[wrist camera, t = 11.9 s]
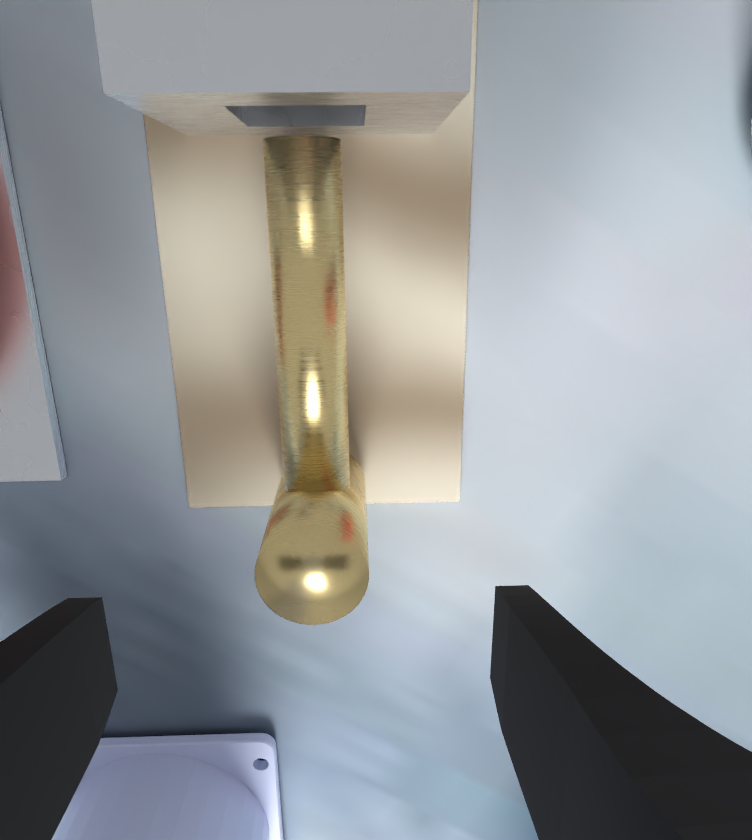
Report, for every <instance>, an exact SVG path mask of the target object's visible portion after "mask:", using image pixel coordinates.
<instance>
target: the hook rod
mask: <svg viewBox="0 0 752 840" xmlns="http://www.w3.org/2000/svg"><path fill="white" fill-rule="evenodd" d="M263 154H264V170H265V186H266V202H267V218H268V234H269V251H270V267H271V283H272V299H273V315H274V331H275V348H276V364H277V380H278V396H279V412H280V428H281V445H282V461H283V473H282V476H281V479H280V483H279V486H278V490H277V493H276V496H275V500H274V503H273V507H272V510H271V514H270V517H269V521H268V524H267V527H266V531H265V534H264V538H263V541H262V545H261V548H260V552H259V555H258V558H257V562H256V566H255V583H256V587H257V590H258V592H259V595H260V597H261V598H262V600H263V601H264V603H265V604H266V605H267V606H268V607H269V608H270V609H271V610H272V611H273V612H275V613H276V614H278V615H279V616H281V617H283V618H285V619H287V620H290V621H292V622H296V623H300V624H307V625H316V624H324V623H329V622H332V621H335V620H338V619H340V618H342V617H344V616H345V615H347V614H348V613H350V612H351V611H352V610H353V609H354V608H355V607H356V606H357V605H358V604H359V603H360V601H361V600H362V598H363V596H364V594H365V592H366V589H367V586H368V580H369V567H368V540H367V513H366V485H365V477H364V473H363V470H362V468H361V466H360V465H359V463H358V462H357V460H356V459H355V458H354V457H353V456H351V455H350V454H349V430H348V390H347V351H346V311H345V271H344V231H343V192H342V152H341V139H339V138H336V137H329V136H318V135H284V136H273V137H267V138H264V139H263Z"/></svg>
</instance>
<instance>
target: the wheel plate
mask: <svg viewBox="0 0 752 840" xmlns="http://www.w3.org/2000/svg"><path fill="white" fill-rule="evenodd" d="M66 476H67V469H66V464H65V458H64V453H63V447H62V442H61V436H60V431H59V425H58V420H57V414H56V409H55V403H54V398H53V392H52V387H51V381H50V376H49V370H48V364H47V359H46V353H45V348H44V342H43V337H42V331H41V326H40V320H39V315H38V309H37V304H36V298H35V293H34V287H33V282H32V276H31V271H30V265H29V260H28V254H27V249H26V243H25V238H24V232H23V227H22V221H21V216H20V210H19V205H18V199H17V194H16V188H15V183H14V177H13V172H12V166H11V161H10V155H9V150H8V144H7V138H6V133H5V127H4V122H3V116H2V111H1V105H0V482H14V481H61V480H62V479H64V478H65V477H66Z"/></svg>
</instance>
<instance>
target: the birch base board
mask: <svg viewBox="0 0 752 840" xmlns="http://www.w3.org/2000/svg"><path fill="white" fill-rule="evenodd" d="M477 7H478V0H473V23H472V52H471V81H470V92H469V93H468V95H467V96H466V97H465V98H464V99H463V100H462V101H461V102H460V104H459V105H458V106H457V107H456V108H455V109H454V110H453V111H452V113H451V114H450V115H449V116H448V117H447V118H446V119H445V120H444V122H443V123H442V124H441V125H440V126H439V127H438V128H437V129H436V131H435V132H434V133H433V134H342V135H318V136H329V137H336V138H339V139H341V152H342V192H343V231H344V271H345V311H346V351H347V390H348V430H349V454H350V455H351V456H353V457H354V458H355V459H356V460H357V462H358V463H359V465H360V466H361V468H362V470H363V473H364V477H365V485H366V504H376V503H420V502H460V476H461V449H462V421H463V393H464V366H465V338H466V311H467V283H468V256H469V228H470V200H471V173H472V145H473V118H474V90H475V63H476V35H477ZM143 116H144V124H145V133H146V142H147V150H148V159H149V167H150V176H151V185H152V193H153V202H154V210H155V219H156V228H157V236H158V245H159V253H160V262H161V271H162V279H163V288H164V296H165V305H166V314H167V322H168V331H169V339H170V348H171V357H172V365H173V374H174V383H175V391H176V400H177V408H178V417H179V426H180V434H181V443H182V451H183V460H184V469H185V477H186V486H187V494H188V503H189V508H200V507H244V506H273V503H274V500H275V496H276V493H277V490H278V486H279V483H280V479H281V476H282V473H283V461H282V445H281V428H280V412H279V396H278V380H277V364H276V348H275V331H274V315H273V299H272V283H271V267H270V251H269V234H268V218H267V202H266V186H265V170H264V154H263V139H264V138H267V137H273V136H284V135H185V134H183V133H181V132H179V131H177V130H175V129H173V128H171V127H169V126H167V125H165V124H163V123H161V122H159V121H157V120H155V119H153V118H151V117H149V116H148V115H146V114H144V113H143Z"/></svg>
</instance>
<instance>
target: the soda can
mask: <svg viewBox="0 0 752 840" xmlns="http://www.w3.org/2000/svg"><path fill="white" fill-rule="evenodd" d="M750 133H751V149H752V120H751V132H750Z"/></svg>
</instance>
